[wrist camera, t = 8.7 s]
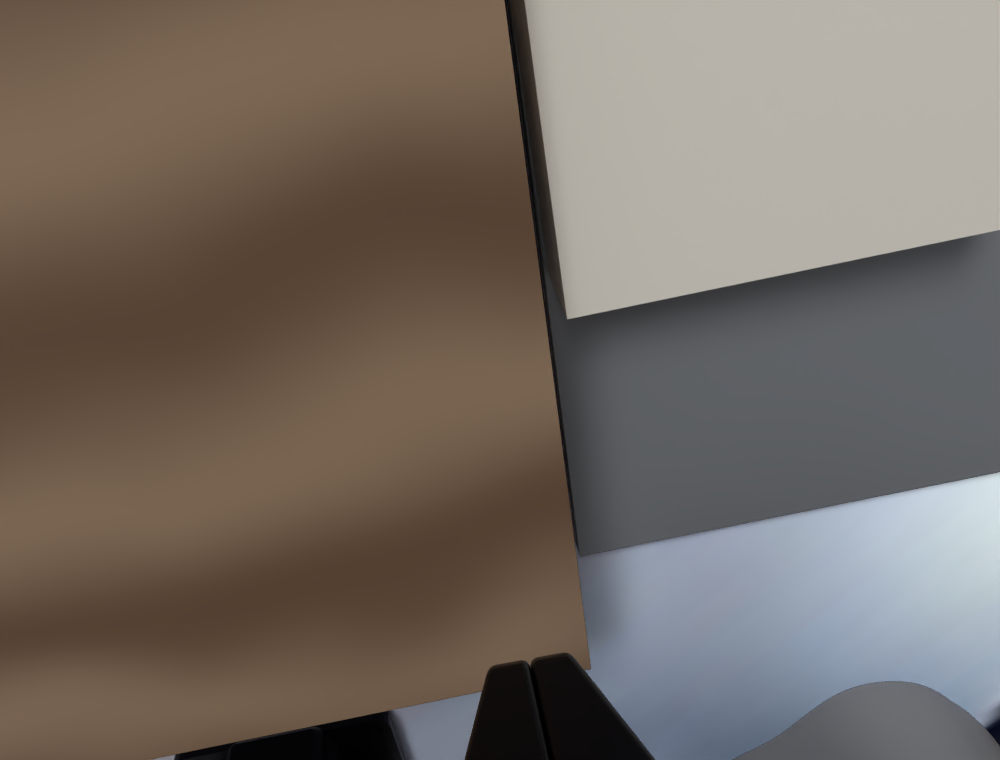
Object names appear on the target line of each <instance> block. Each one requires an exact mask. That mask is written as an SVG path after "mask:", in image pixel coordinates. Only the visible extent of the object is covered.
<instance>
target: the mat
mask: <svg viewBox="0 0 1000 760" xmlns="http://www.w3.org/2000/svg"><path fill="white" fill-rule="evenodd" d="M507 3H508V11H509V18H510V26H511V34H512V42H513V50H514V57H515V65H516V73H517V81H518V89H519V97H520V104H521V112H522V120H523V128H524V136H525V144H526V151H527V159H528V167H529V175H530V183H531V190H532V198H533V206H534V214H535V222H536V230H537V237H538V245H539V253H540V261H541V269H542V276H543V284H544V292H545V300H546V308H547V316H548V323H549V331H550V339H551V347H552V355H553V363H554V370H555V378H556V386H557V394H558V402H559V409H560V417H561V425H562V433H563V441H564V449H565V456H566V464H567V472H568V480H569V488H570V495H571V503H572V511H573V519H574V527H575V535H576V542H577V548H578V551H579V555H580V556H585V555H590V554H595V553H600V552H605V551H610V550H615V549H620V548H625V547H629V546H634V545H639V544H644V543H649V542H654V541H659V540H664V539H669V538H674V537H679V536H684V535H689V534H694V533H699V532H704V531H709V530H714V529H719V528H724V527H729V526H734V525H739V524H744V523H749V522H754V521H759V520H764V519H769V518H774V517H779V516H784V515H789V514H794V513H799V512H804V511H809V510H814V509H819V508H824V507H829V506H833V505H838V504H843V503H848V502H853V501H858V500H863V499H868V498H873V497H878V496H883V495H888V494H893V493H898V492H903V491H908V490H913V489H918V488H923V487H928V486H933V485H938V484H943V483H948V482H953V481H958V480H963V479H968V478H973V477H978V476H983V475H988V474H993V473H998V472H1000V230H997V231H992V232H987V233H983V234H978V235H973V236H968V237H963V238H958V239H953V240H949V241H944V242H939V243H934V244H929V245H924V246H920V247H915V248H910V249H905V250H900V251H895V252H891V253H886V254H881V255H876V256H871V257H866V258H862V259H857V260H852V261H847V262H842V263H837V264H833V265H828V266H823V267H818V268H813V269H808V270H804V271H799V272H794V273H789V274H784V275H779V276H775V277H770V278H765V279H760V280H755V281H750V282H746V283H741V284H736V285H731V286H726V287H721V288H717V289H712V290H707V291H702V292H697V293H692V294H688V295H683V296H678V297H673V298H668V299H663V300H659V301H654V302H649V303H644V304H639V305H634V306H630V307H625V308H620V309H615V310H610V311H605V312H600V313H596V314H591V315H586V316H581V317H576V318H571V319H567V318H566V315H565V313H564V310H563V308H562V305H561V303H560V300H559V298H558V295H557V293H556V290H555V288H554V285H553V283H552V280H551V278H550V275H549V271H548V264H547V257H546V249H545V242H544V235H543V228H542V221H541V214H540V207H539V200H538V193H537V186H536V179H535V172H534V165H533V158H532V151H531V144H530V137H529V130H528V123H527V116H526V109H525V102H524V95H523V88H522V81H521V74H520V66H519V59H518V52H517V45H516V38H515V31H514V24H513V17H512V10H511V3H510V0H507Z"/></svg>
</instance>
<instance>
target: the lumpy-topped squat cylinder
mask: <svg viewBox="0 0 1000 760" xmlns="http://www.w3.org/2000/svg"><path fill="white" fill-rule="evenodd" d="M733 760H1000V746H999V745H998V743H997V742H996V740H995V739H994V738H993V737H992V735H991V734H990V733H989V732H988V731H987V730H986V729H985V728H984V727H983V726H982V725H981V724H980V723H979V722H978V721H977V720H976V719H975V718H974V717H973V716H972V715H971V714H969V713H968V712H967V711H966V710H964V709H963V708H962V707H960V706H958V705H957V704H955V703H953V702H952V701H950V700H949V699H948V698H946V697H945V696H943V695H942V694H940V693H938V692H937V691H935V690H933V689H931V688H928V687H926V686H923V685H920V684H916V683H910V682H902V681H885V682H875V683H869V684H864V685H860V686H856V687H853V688H850V689H848V690H845V691H843V692H841V693H838V694H836V695H835V696H833V697H831V698H829V699H827V700H826V701H824V702H823V703H821V704H820V705H818V706H817V707H816V708H814V709H813V710H811V711H810V712H809V713H808V714H806V715H805V716H804V717H802V718H801V719H800V720H799V721H797V722H796V723H795V724H794V725H792V726H791V727H790V728H788V729H787V730H785V731H784V732H783V733H781V734H780V735H778V736H776V737H775V738H773V739H771V740H770V741H768V742H766V743H764V744H762V745H761V746H759V747H757V748H755V749H753V750H751V751H749V752H747V753H744V754H742V755H740V756H738V757H736V758H735V759H733Z"/></svg>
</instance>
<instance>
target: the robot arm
mask: <svg viewBox="0 0 1000 760" xmlns="http://www.w3.org/2000/svg"><path fill="white" fill-rule="evenodd" d="M530 666H531V668H530ZM174 760H405V757H404V754H403V751H402V748H401V745H400V742H399V739H398V736H397V733H396V730H395V728H394V725H393V722H392V719H391V716H390V715H389V713H388V712H386V711H384V712H379V713H374V714H370V715H365V716H360V717H355V718H350V719H345V720H340V721H335V722H331V723H326V724H321V725H316V726H311V727H306V728H301V729H296V730H292V731H287V732H282V733H277V734H272V735H267V736H262V737H258V738H253V739H248V740H243V741H238V742H233V743H228V744H223V745H219V746H214V747H209V748H204V749H199V750H194V751H189V752H185V753H180V754H176V755H175V758H174ZM465 760H655V759H654V757H653V756H652V755H651V754H650V752H649V751H648V750H647V748H646V747H645V746H644V745H643V743H642V742H641V741H640V740H639V738H638V737H637V736H636V735H635V733H634V732H633V731H632V730H631V728H630V727H629V726H628V725H627V723H626V722H625V721H624V719H623V718H622V717H621V716H620V714H619V713H618V712H617V711H616V709H615V708H614V707H613V706H612V704H611V703H610V702H609V701H608V699H607V698H606V697H605V695H604V694H603V693H602V692H601V690H600V689H599V688H598V687H597V685H596V684H595V683H594V682H593V680H592V679H591V678H590V677H589V675H588V674H587V673H586V672H585V670H584V669H583V668H582V666H581V665H580V664H579V663H578V661H577V660H576V659H575V658H574V657H573V656H572V655H571V654H569V653H565V652H563V653H557V654H552V655H546V656H541V657H536V658H534V659H533V660H532V661H531V664H530V665H529V663H528V662H526V661H524V660H519V661H514V662H508V663H503V664H497V665H493V666H492V667H490V668H489V670H488V672H487V674H486V678H485V682H484V686H483V690H482V694H481V697H480V701H479V705H478V709H477V713H476V717H475V721H474V725H473V729H472V733H471V737H470V741H469V744H468V748H467V752H466V756H465Z"/></svg>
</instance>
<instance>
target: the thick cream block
mask: <svg viewBox="0 0 1000 760" xmlns="http://www.w3.org/2000/svg"><path fill="white" fill-rule="evenodd" d="M510 3H511V10H512V17H513V24H514V31H515V38H516V45H517V52H518V59H519V66H520V74H521V81H522V88H523V95H524V102H525V109H526V116H527V123H528V130H529V137H530V144H531V151H532V158H533V165H534V172H535V179H536V186H537V193H538V200H539V207H540V214H541V221H542V228H543V235H544V242H545V249H546V257H547V264H548V271H549V275H550V278H551V280H552V283H553V285H554V288H555V290H556V293H557V295H558V298H559V300H560V303H561V305H562V308H563V310H564V313H565V315H566V318H567V319H571V318H576V317H581V316H586V315H591V314H596V313H600V312H605V311H610V310H615V309H620V308H625V307H630V306H634V305H639V304H644V303H649V302H654V301H659V300H663V299H668V298H673V297H678V296H683V295H688V294H692V293H697V292H702V291H707V290H712V289H717V288H721V287H726V286H731V285H736V284H741V283H746V282H750V281H755V280H760V279H765V278H770V277H775V276H779V275H784V274H789V273H794V272H799V271H804V270H808V269H813V268H818V267H823V266H828V265H833V264H837V263H842V262H847V261H852V260H857V259H862V258H866V257H871V256H876V255H881V254H886V253H891V252H895V251H900V250H905V249H910V248H915V247H920V246H924V245H929V244H934V243H939V242H944V241H949V240H953V239H958V238H963V237H968V236H973V235H978V234H983V233H987V232H992V231H997V230H1000V0H510Z"/></svg>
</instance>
